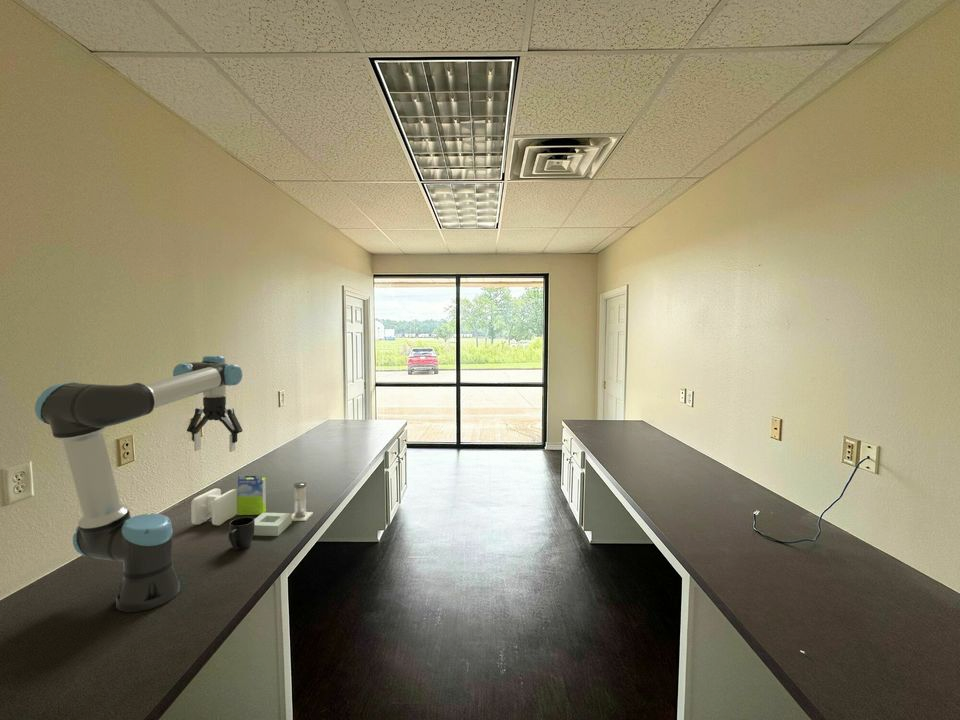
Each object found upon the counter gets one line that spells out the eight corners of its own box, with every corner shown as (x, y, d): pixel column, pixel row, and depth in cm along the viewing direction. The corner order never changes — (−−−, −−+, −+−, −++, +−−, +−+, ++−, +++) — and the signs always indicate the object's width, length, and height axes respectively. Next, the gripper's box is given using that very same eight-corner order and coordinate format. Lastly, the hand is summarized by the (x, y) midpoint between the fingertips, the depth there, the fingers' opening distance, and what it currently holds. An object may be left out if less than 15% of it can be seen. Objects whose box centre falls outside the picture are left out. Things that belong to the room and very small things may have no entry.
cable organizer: (214, 529, 176) (214, 500, 176) (190, 527, 177) (189, 499, 177) (239, 514, 191) (238, 487, 190) (216, 512, 192) (216, 486, 192)
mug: (218, 556, 155) (217, 530, 154) (237, 540, 167) (237, 516, 166) (241, 557, 155) (241, 531, 154) (258, 541, 167) (258, 517, 166)
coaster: (305, 521, 186) (305, 519, 186) (286, 520, 186) (286, 519, 186) (313, 513, 194) (313, 512, 194) (295, 512, 194) (295, 511, 194)
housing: (278, 535, 172) (278, 525, 172) (247, 534, 172) (247, 524, 172) (291, 522, 184) (291, 513, 184) (263, 521, 184) (263, 512, 184)
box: (266, 511, 195) (266, 472, 194) (262, 515, 191) (262, 475, 190) (241, 511, 194) (240, 473, 193) (237, 515, 189) (236, 476, 188)
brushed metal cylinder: (303, 518, 187) (303, 486, 186) (291, 517, 187) (291, 485, 187) (308, 513, 192) (308, 482, 191) (297, 513, 192) (297, 481, 192)
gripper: (251, 395, 174) (252, 448, 175) (189, 393, 174) (189, 446, 175) (241, 398, 166) (241, 453, 167) (175, 396, 166) (176, 451, 168)
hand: (215, 450), depth 171 cm, fingers open, 13 cm apart
